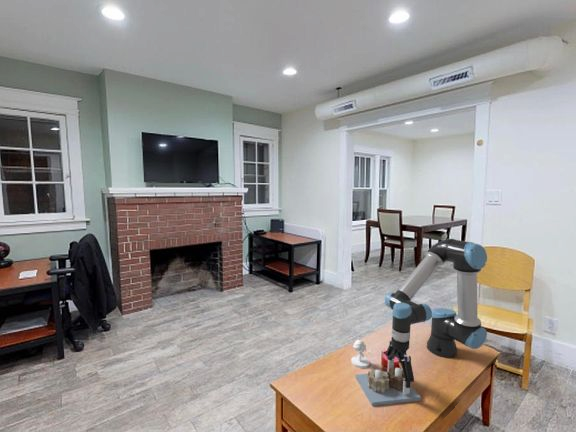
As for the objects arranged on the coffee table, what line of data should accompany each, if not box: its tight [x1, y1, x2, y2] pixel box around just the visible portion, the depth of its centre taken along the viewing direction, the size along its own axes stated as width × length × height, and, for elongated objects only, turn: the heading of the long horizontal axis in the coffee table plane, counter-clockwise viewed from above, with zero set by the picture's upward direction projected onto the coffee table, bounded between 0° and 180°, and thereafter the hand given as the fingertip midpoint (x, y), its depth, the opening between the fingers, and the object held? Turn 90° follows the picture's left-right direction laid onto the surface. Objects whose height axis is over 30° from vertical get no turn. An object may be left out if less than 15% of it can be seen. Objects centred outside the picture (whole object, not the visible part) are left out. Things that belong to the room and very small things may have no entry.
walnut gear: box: [386, 368, 405, 391], centre depth 133 cm, size 9×9×5 cm
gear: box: [367, 368, 389, 394], centre depth 132 cm, size 9×9×5 cm
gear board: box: [355, 367, 422, 407], centre depth 132 cm, size 22×18×8 cm
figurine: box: [351, 339, 370, 369], centre depth 151 cm, size 9×9×12 cm
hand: (397, 382), depth 133 cm, fingers open, 13 cm apart
